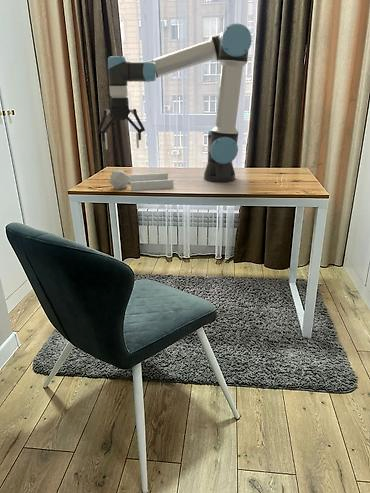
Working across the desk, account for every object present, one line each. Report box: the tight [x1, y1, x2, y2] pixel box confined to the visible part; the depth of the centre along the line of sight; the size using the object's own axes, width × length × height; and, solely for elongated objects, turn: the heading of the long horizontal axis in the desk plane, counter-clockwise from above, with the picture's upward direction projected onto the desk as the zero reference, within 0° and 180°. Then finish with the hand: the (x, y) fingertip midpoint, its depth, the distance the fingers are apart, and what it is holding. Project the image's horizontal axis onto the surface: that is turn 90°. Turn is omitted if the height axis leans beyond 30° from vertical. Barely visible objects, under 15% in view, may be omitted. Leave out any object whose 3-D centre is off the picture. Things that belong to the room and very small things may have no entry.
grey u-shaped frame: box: [127, 172, 175, 191], centre depth 184 cm, size 19×15×4 cm
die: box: [108, 169, 130, 191], centre depth 178 cm, size 8×9×10 cm
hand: (122, 148), depth 176 cm, fingers open, 13 cm apart
